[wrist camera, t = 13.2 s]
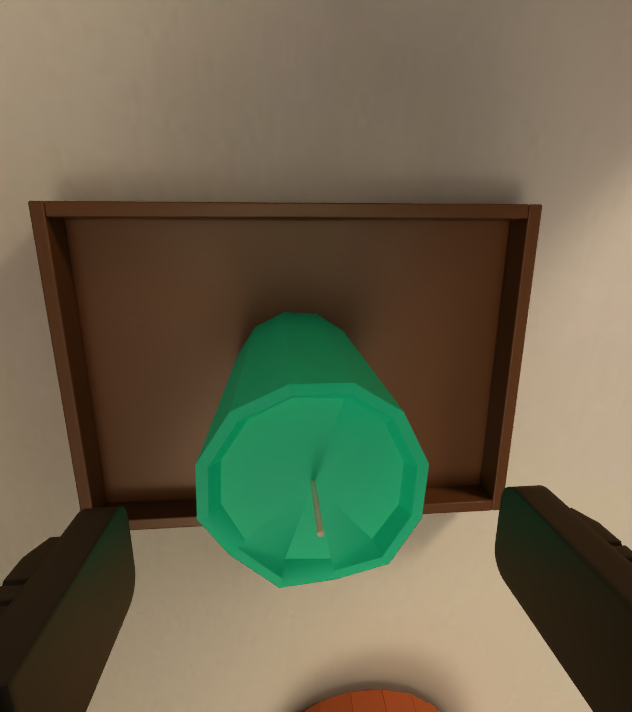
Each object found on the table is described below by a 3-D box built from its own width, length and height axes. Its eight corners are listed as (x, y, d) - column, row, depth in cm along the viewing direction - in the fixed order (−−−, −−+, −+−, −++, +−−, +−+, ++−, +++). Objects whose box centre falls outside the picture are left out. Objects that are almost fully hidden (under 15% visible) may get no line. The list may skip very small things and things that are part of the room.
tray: (101, 506, 22) (83, 533, 20) (55, 205, 18) (26, 200, 16) (483, 487, 24) (502, 510, 22) (516, 208, 20) (543, 204, 18)
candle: (222, 325, 20) (138, 440, 8) (345, 298, 20) (439, 373, 8) (252, 438, 21) (219, 670, 10) (366, 412, 21) (469, 610, 10)
